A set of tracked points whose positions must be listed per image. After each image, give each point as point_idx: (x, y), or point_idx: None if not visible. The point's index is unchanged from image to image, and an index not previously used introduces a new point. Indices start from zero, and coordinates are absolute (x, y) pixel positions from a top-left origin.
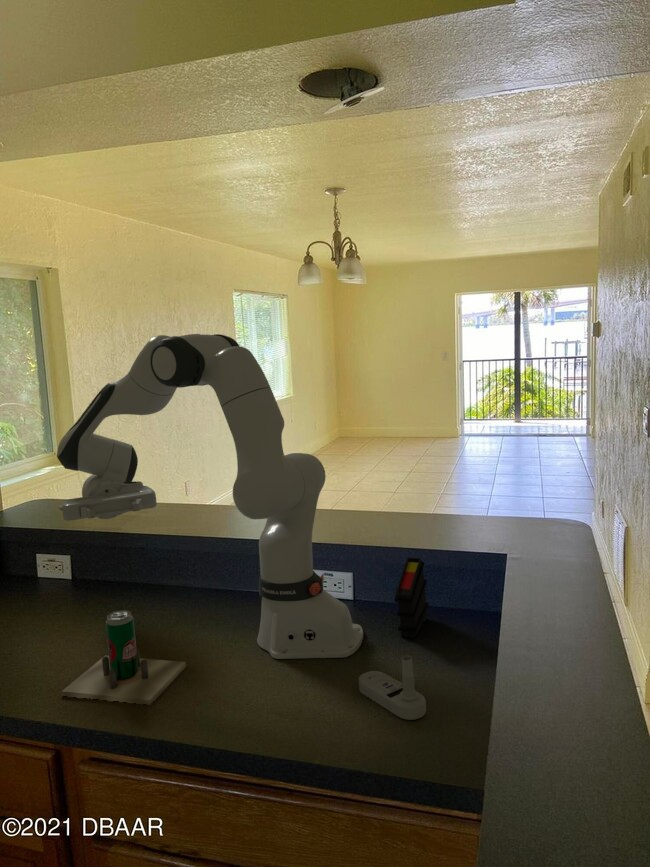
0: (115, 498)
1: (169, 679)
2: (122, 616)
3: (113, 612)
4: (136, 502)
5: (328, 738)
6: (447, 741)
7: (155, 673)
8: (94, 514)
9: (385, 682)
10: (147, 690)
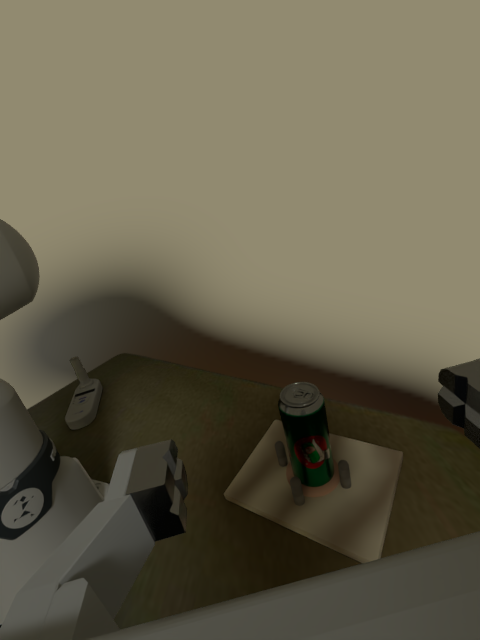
0: (332, 579)
1: (251, 454)
2: (293, 392)
3: (311, 401)
4: (132, 468)
5: (155, 378)
6: (101, 373)
7: (269, 471)
8: (443, 390)
9: (79, 403)
10: (278, 435)
